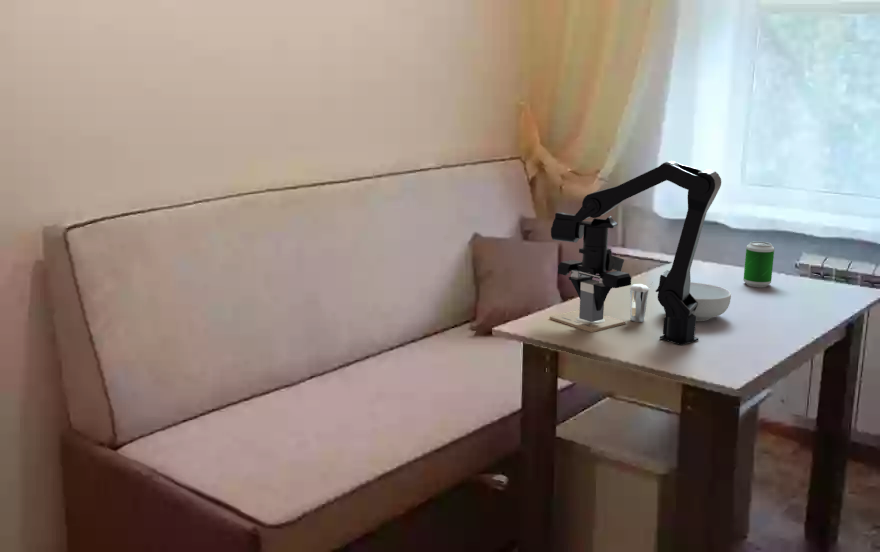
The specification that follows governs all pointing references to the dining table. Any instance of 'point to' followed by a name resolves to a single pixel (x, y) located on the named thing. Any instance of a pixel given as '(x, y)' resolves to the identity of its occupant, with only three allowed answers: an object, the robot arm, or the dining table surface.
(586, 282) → the grey and white block
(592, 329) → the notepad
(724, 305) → the cereal bowl
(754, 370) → the dining table surface
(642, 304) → the milkshake
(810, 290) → the dining table surface
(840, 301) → the dining table surface
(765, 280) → the soda can
